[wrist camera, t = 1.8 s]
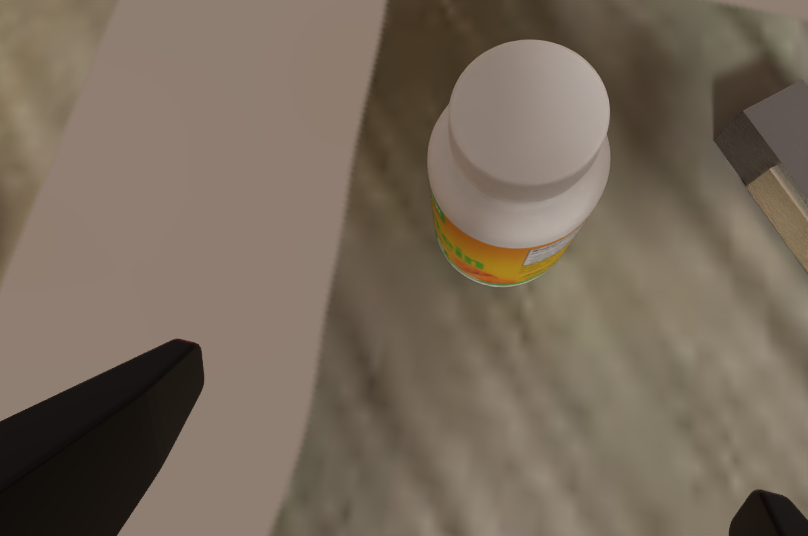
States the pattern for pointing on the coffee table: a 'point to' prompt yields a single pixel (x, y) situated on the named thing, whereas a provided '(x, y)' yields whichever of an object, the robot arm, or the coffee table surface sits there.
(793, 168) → the price rail
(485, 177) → the supplement bottle
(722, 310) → the coffee table surface
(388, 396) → the coffee table surface
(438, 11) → the coffee table surface
